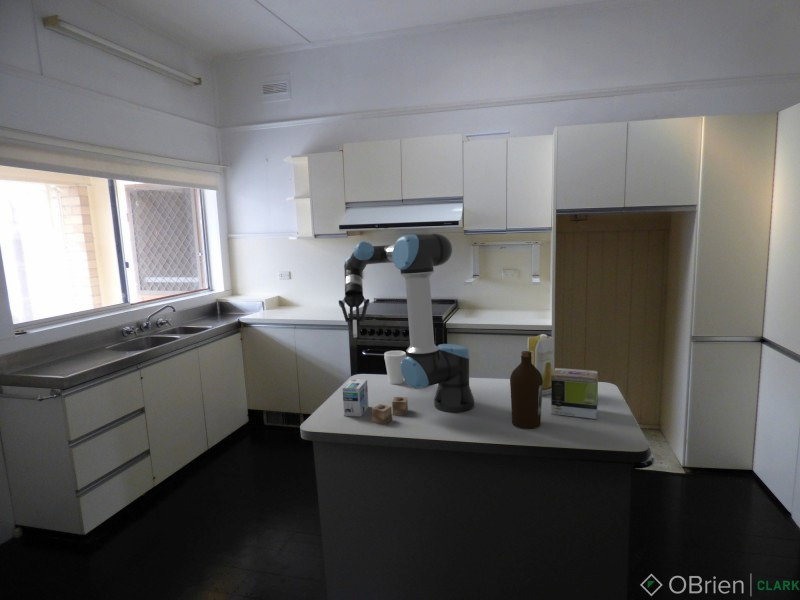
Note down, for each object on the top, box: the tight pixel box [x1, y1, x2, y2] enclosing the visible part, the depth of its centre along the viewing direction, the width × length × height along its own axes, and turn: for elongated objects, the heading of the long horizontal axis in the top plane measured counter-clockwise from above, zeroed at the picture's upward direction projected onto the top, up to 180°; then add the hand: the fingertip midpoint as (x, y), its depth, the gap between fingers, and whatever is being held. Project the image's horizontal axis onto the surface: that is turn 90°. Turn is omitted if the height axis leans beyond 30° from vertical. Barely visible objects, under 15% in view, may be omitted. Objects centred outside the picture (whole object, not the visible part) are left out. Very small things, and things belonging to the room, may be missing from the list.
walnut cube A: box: [391, 396, 409, 416], centre depth 177 cm, size 5×5×5 cm
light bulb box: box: [341, 378, 369, 418], centre depth 179 cm, size 11×7×11 cm, turn 168°
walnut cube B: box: [371, 403, 393, 426], centre depth 170 cm, size 5×5×5 cm
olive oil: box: [509, 350, 543, 430], centre depth 161 cm, size 11×11×25 cm
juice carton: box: [527, 333, 554, 397], centre depth 191 cm, size 9×8×24 cm
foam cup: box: [383, 350, 407, 385], centre depth 211 cm, size 10×9×13 cm
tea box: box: [550, 367, 599, 420], centre depth 171 cm, size 15×10×15 cm
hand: (355, 335), depth 189 cm, fingers closed
